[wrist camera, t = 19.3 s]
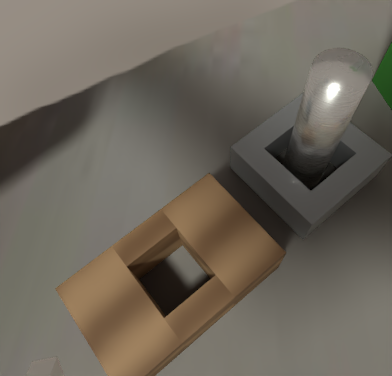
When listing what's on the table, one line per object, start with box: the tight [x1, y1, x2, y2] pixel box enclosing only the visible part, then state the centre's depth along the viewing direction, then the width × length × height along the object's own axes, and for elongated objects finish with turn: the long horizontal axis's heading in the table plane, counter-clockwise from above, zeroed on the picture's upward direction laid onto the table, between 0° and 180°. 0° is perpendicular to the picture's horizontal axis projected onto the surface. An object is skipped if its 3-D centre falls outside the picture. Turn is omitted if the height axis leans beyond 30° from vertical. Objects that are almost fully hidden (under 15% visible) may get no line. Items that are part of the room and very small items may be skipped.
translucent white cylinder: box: [283, 48, 373, 189], centre depth 39 cm, size 5×5×18 cm
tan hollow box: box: [55, 173, 286, 376], centre depth 39 cm, size 12×20×6 cm, turn 129°
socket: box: [230, 92, 392, 239], centre depth 44 cm, size 13×13×5 cm
